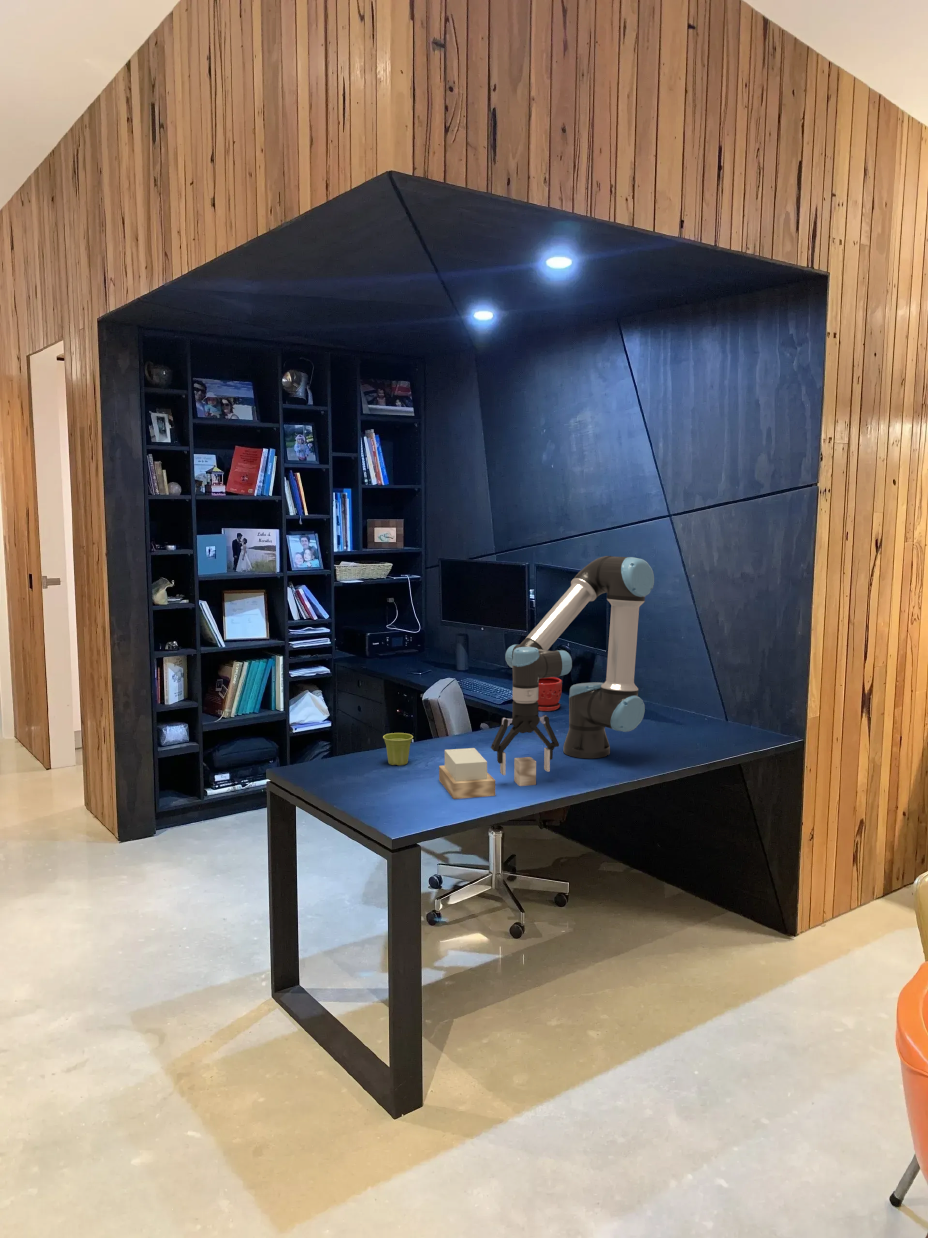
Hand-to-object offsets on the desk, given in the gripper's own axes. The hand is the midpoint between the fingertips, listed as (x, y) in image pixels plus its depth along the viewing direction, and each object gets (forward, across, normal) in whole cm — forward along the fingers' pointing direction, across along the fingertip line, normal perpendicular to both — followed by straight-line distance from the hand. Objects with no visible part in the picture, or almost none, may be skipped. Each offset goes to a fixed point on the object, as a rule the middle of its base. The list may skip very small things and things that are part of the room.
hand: (525, 772), depth 267 cm
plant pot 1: (+3, -32, +30) cm, 44 cm away
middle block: (-1, -18, 0) cm, 18 cm away
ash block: (+3, 0, 0) cm, 3 cm away
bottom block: (+4, -18, 0) cm, 18 cm away
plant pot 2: (+3, +39, +91) cm, 99 cm away
